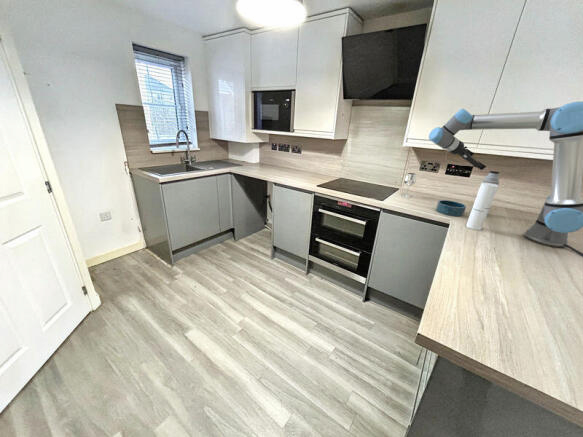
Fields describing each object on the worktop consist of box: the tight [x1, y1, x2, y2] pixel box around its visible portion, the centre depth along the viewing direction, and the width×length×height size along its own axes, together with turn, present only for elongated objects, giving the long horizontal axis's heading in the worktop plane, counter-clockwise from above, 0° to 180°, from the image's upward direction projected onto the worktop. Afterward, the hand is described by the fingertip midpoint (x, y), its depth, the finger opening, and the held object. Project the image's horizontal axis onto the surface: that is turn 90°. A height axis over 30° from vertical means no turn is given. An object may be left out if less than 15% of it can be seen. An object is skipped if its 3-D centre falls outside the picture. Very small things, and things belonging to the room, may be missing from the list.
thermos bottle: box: [481, 170, 501, 186], centre depth 150 cm, size 8×8×28 cm
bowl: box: [435, 199, 467, 217], centre depth 154 cm, size 16×16×6 cm
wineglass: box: [401, 172, 417, 198], centre depth 185 cm, size 8×8×18 cm
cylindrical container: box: [465, 182, 499, 231], centre depth 129 cm, size 7×7×25 cm
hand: (477, 161), depth 137 cm, fingers open, 13 cm apart
